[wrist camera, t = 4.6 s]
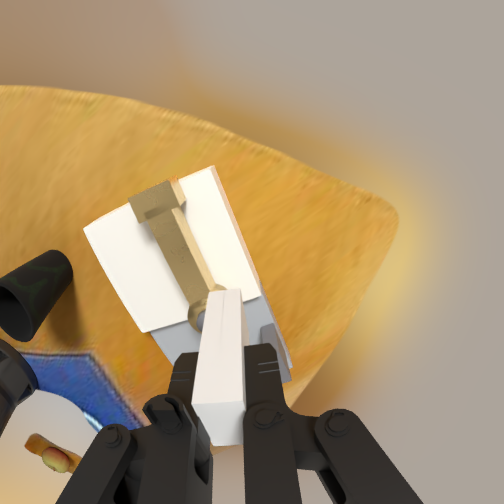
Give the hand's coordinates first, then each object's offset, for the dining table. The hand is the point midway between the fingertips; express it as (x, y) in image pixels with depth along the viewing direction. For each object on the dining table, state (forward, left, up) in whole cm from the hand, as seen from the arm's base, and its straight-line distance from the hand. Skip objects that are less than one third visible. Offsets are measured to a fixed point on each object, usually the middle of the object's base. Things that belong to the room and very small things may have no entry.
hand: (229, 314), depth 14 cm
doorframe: (-7, -8, -19) cm, 22 cm away
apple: (-80, -47, -19) cm, 95 cm away
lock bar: (-5, -1, -14) cm, 15 cm away
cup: (-25, +3, -19) cm, 32 cm away
